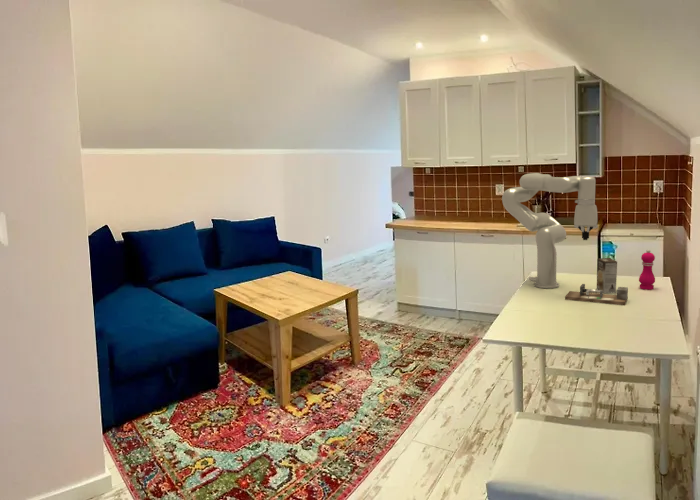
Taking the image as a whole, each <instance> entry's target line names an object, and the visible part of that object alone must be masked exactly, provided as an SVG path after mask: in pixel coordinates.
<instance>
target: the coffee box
mask: <svg viewBox="0 0 700 500" xmlns="http://www.w3.org/2000/svg"><path fill="white" fill-rule="evenodd" d="M596 261H597V265H596V266H597V267H596V290H602V291H603V294H615V293H616V294H617V278H618V276H617V275H618V260H615V259H612V258H611V257H602V258H597V260H596Z"/></svg>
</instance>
